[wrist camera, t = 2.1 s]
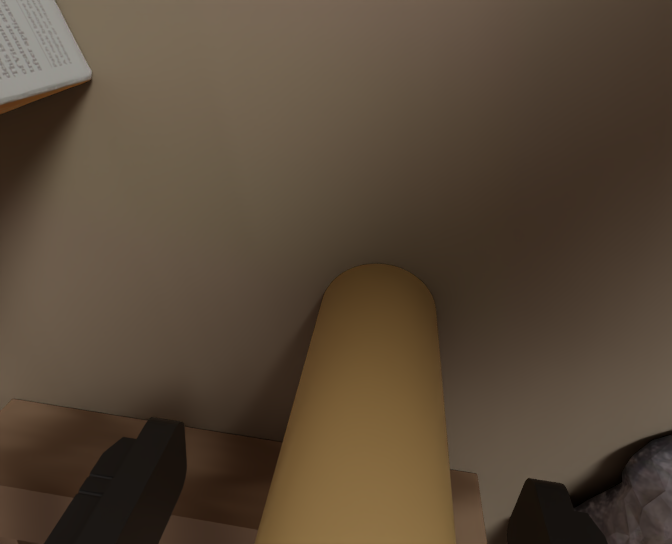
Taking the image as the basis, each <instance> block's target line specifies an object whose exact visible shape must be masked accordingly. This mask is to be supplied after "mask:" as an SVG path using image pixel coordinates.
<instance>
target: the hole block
mask: <svg viewBox="0 0 672 544" xmlns="http://www.w3.org/2000/svg"><path fill="white" fill-rule="evenodd" d="M146 422H147V420H141V419H135V418H128V417H122V416H116V415H110V414H104V413H97V412H91V411H85V410H79V409H73V408H67V407H60V406H54V405H48V404H42V403H36V402H29V401H23V400H17V399H12V400H11V401H10V402H9V403H8V404H7V405H6V406H5V407H4V408H3V409H2V410H1V411H0V544H44V543H45V541H46V539H47V538H48V536H49V535H50V533H51V532H52V530H53V529H54V527H55V526H56V524H57V523H58V521H59V520H60V518H61V516H62V515H63V513H64V512H65V510H66V509H67V507H68V506H69V504H70V503H71V501H72V500H73V498H74V497H75V495H76V494H78V492H79V489H80V487H81V486H82V484H83V483H84V481H85V480H86V478H87V477H89V475H90V472H91V470H92V469H93V467H94V466H95V464H96V463H97V461H98V460H99V458H100V457H101V455H102V454H103V452H105V451H106V450H107V449H108V448H110V447H111V446H112V445H113V444H115V443H116V442H117V441H118V440H120V439H121V438H122V437H128V438H134V439H137V437H138V435H139V434H140V432H141V430H142V429H143V427H144V425H145V424H146ZM185 441H186V458H187V472H186V478H185V482H184V486H183V489H182V492H181V494H180V496H179V499H178V501H177V503H176V505H175V508H174V510H173V512H172V514H171V517H170V519H169V521H168V523H167V526H166V528H165V530H164V532H163V535H162V537H161V539H160V541H159V544H254V543H255V540H256V536H257V532H258V529H259V525H260V522H261V518H262V514H263V511H264V507H265V504H266V500H267V496H268V493H269V489H270V486H271V482H272V478H273V475H274V471H275V468H276V464H277V461H278V457H279V453H280V450H281V446H282V443H283V442H277V441H271V440H264V439H258V438H252V437H246V436H240V435H233V434H227V433H221V432H215V431H209V430H203V429H196V428H190V427H185ZM450 478H451V489H452V501H453V513H454V524H455V536H456V544H487V539H486V532H485V525H484V518H483V511H482V504H481V497H480V490H479V483H478V476H477V474H475V473H468V472H462V471H456V470H450Z"/></svg>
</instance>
